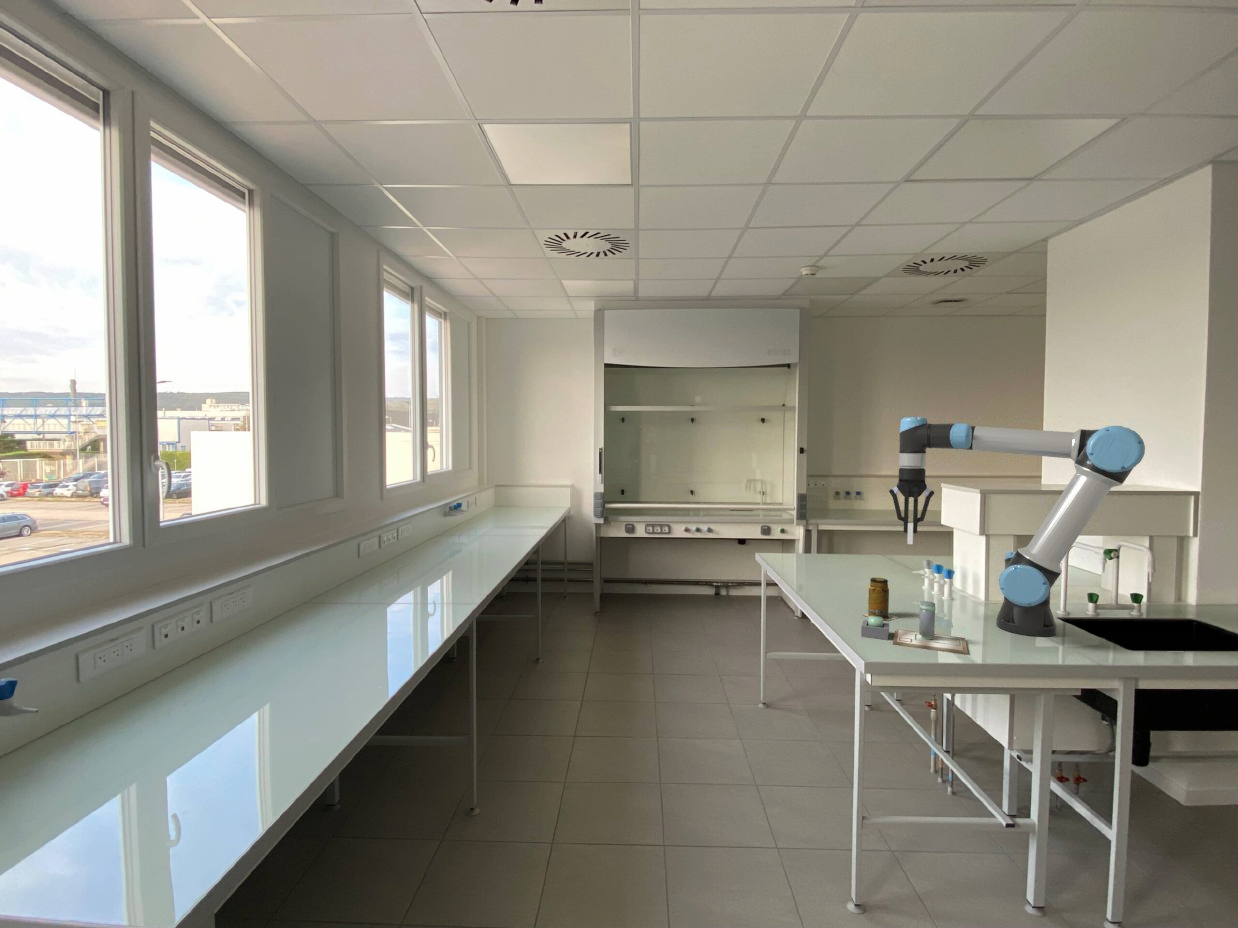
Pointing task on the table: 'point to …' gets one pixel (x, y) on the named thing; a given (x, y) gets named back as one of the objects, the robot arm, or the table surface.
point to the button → (875, 621)
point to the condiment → (879, 599)
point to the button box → (875, 631)
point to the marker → (927, 620)
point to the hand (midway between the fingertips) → (910, 543)
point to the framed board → (930, 642)
